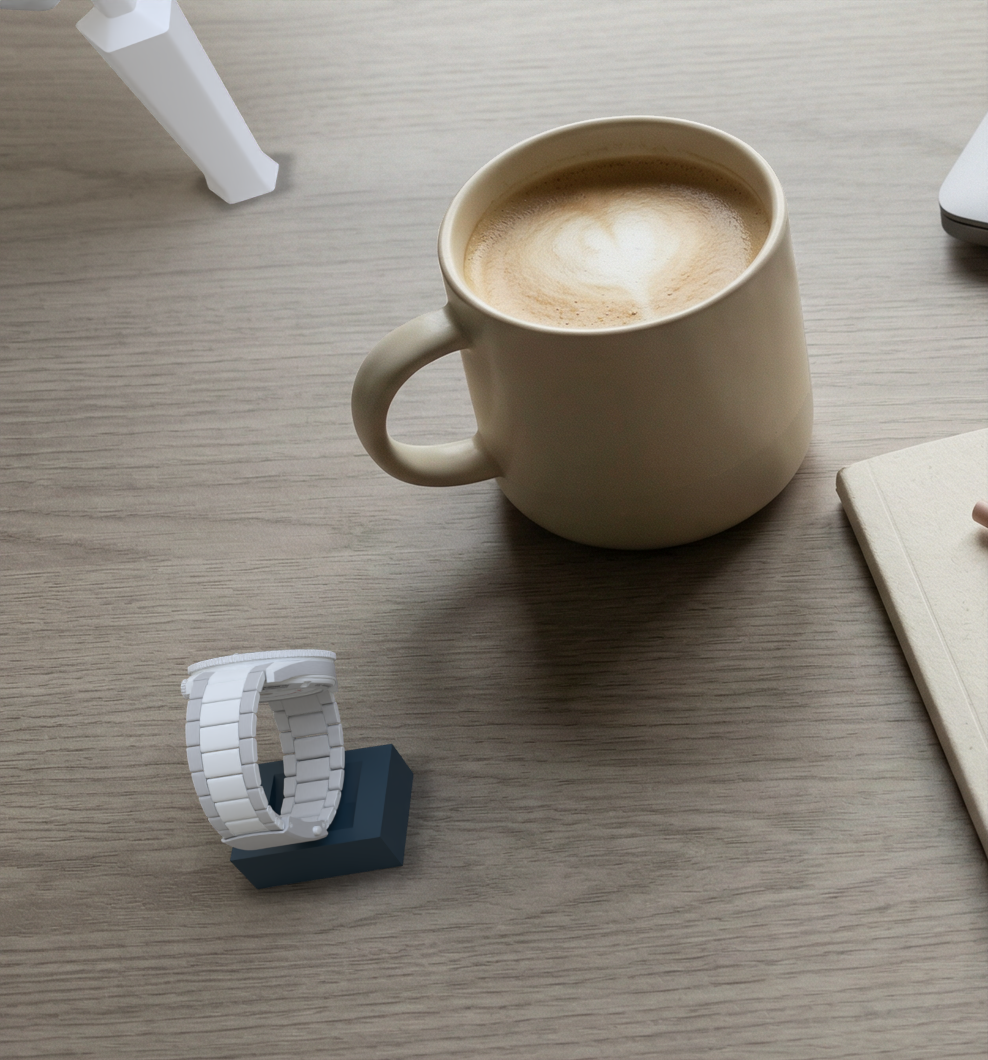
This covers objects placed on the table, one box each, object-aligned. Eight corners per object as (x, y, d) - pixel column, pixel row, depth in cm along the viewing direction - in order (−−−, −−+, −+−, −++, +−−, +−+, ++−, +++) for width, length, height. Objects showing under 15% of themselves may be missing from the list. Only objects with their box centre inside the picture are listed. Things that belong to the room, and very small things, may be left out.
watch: (424, 743, 73) (319, 589, 64) (404, 913, 68) (288, 772, 59) (285, 764, 72) (160, 611, 63) (255, 938, 67) (115, 798, 58)
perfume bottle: (278, 143, 96) (132, -73, 83) (301, 193, 94) (155, -20, 81) (195, 175, 94) (33, -40, 82) (217, 227, 93) (55, 16, 80)
